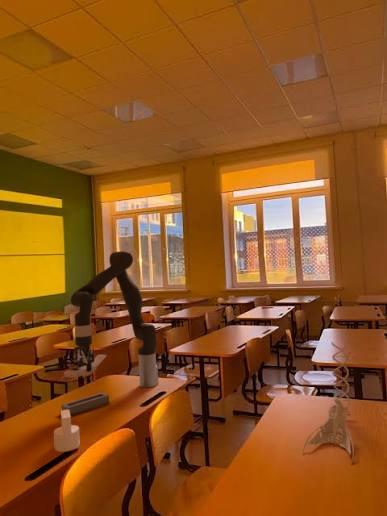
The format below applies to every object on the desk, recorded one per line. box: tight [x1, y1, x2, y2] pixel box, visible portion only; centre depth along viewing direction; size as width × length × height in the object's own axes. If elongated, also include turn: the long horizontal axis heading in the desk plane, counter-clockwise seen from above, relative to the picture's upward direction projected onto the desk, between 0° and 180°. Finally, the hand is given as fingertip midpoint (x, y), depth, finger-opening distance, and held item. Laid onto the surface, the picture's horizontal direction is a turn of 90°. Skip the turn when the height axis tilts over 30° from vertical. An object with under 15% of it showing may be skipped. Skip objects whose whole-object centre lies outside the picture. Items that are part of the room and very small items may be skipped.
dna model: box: [331, 341, 351, 414], centre depth 168 cm, size 7×6×30 cm
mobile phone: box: [60, 354, 108, 380], centre depth 192 cm, size 6×6×25 cm
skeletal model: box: [302, 399, 355, 464], centre depth 143 cm, size 16×9×25 cm
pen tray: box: [61, 392, 110, 417], centre depth 192 cm, size 21×6×4 cm, turn 134°
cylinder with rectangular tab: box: [53, 409, 81, 453], centre depth 153 cm, size 9×9×12 cm
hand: (85, 370), depth 191 cm, fingers closed on mobile phone, 6 cm apart
